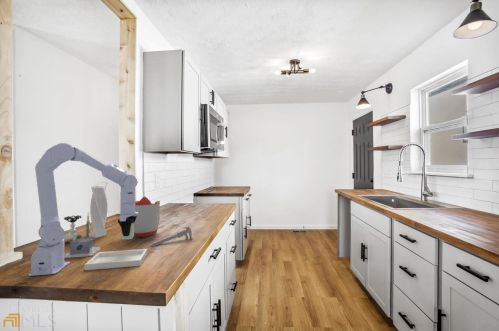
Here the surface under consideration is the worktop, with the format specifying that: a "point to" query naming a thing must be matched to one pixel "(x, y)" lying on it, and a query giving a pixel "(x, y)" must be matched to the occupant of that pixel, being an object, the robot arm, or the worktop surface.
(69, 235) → the valve
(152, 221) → the citrus juicer
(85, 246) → the mounted unit
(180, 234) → the caliper
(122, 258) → the parts tray
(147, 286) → the worktop surface
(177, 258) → the worktop surface
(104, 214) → the twisted vase
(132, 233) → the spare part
